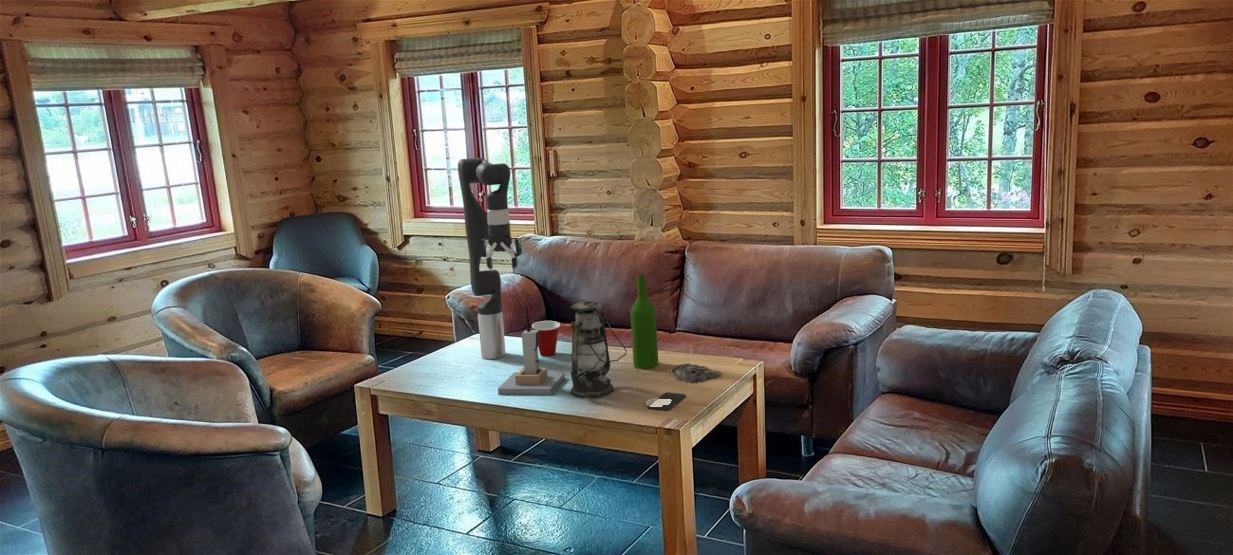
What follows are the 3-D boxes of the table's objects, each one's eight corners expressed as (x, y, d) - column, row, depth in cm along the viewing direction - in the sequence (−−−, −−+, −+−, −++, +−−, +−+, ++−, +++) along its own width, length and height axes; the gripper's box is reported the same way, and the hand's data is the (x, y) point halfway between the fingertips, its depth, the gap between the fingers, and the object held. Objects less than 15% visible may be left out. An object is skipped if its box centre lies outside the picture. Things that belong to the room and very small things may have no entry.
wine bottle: (663, 364, 317) (659, 274, 311) (648, 370, 310) (643, 279, 304) (643, 360, 322) (639, 272, 316) (628, 366, 316) (623, 277, 310)
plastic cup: (540, 360, 331) (538, 329, 328) (529, 354, 340) (527, 323, 338) (567, 355, 335) (564, 324, 333) (555, 349, 345) (553, 319, 343)
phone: (646, 407, 271) (665, 392, 284) (646, 410, 271) (665, 394, 284) (669, 410, 268) (686, 394, 281) (669, 412, 268) (687, 396, 281)
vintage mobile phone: (539, 381, 298) (533, 308, 294) (525, 381, 299) (519, 308, 295) (542, 377, 302) (537, 306, 297) (528, 377, 303) (523, 306, 298)
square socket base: (514, 377, 311) (513, 363, 310) (564, 377, 307) (563, 364, 306) (498, 394, 293) (497, 379, 292) (551, 394, 290) (549, 380, 289)
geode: (705, 386, 290) (727, 374, 302) (705, 375, 290) (726, 363, 301) (656, 379, 301) (679, 368, 313) (655, 368, 300) (679, 357, 312)
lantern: (594, 380, 303) (588, 294, 297) (638, 388, 291) (633, 299, 285) (556, 395, 289) (550, 305, 283) (601, 405, 277) (595, 311, 271)
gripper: (521, 220, 308) (525, 266, 311) (482, 221, 311) (486, 266, 314) (515, 223, 301) (518, 270, 304) (475, 224, 304) (479, 271, 307)
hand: (502, 268), depth 309 cm, fingers open, 8 cm apart
